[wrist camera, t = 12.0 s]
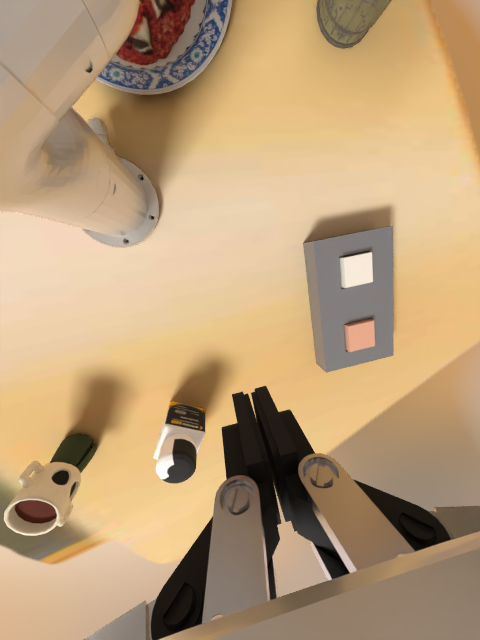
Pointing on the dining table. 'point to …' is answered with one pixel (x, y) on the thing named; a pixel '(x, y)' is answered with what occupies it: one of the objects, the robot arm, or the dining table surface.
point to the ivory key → (356, 269)
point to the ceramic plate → (167, 45)
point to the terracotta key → (359, 335)
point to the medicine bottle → (179, 442)
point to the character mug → (49, 488)
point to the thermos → (348, 19)
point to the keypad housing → (350, 297)
